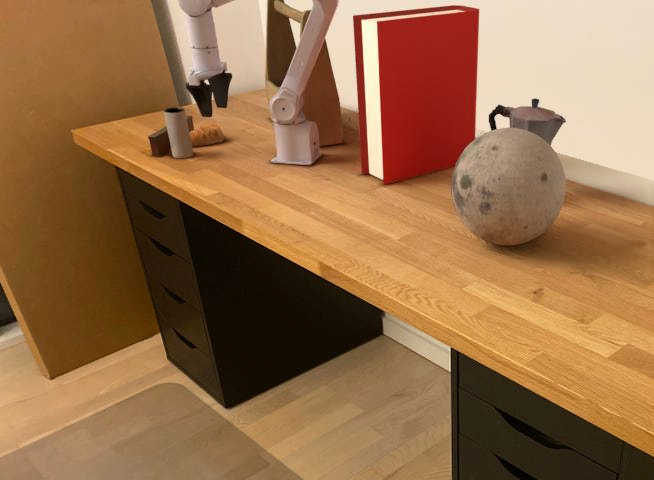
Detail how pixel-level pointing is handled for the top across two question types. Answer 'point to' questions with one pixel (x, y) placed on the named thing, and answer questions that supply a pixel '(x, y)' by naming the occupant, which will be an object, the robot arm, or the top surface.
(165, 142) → the wall shelf
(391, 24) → the book
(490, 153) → the moon model
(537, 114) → the moka pot
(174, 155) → the planter
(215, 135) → the pastry
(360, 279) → the top surface
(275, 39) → the caddy
